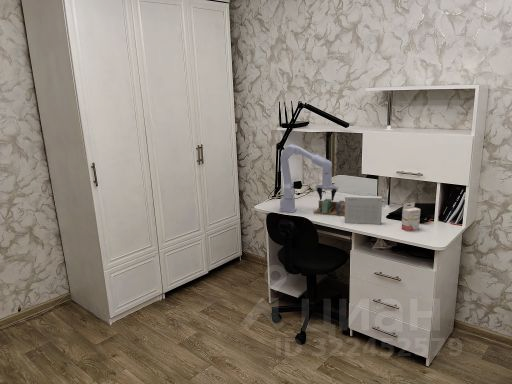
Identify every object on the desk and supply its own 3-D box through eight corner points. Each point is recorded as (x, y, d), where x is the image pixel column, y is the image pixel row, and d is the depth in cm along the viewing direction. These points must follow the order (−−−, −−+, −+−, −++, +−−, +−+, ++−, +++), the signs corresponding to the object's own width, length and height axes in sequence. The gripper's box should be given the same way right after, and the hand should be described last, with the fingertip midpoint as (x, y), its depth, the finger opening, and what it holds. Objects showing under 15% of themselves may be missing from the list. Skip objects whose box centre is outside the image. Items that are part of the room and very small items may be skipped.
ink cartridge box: (407, 231, 220) (409, 205, 217) (401, 228, 225) (402, 203, 221) (419, 229, 223) (421, 203, 220) (413, 226, 228) (414, 201, 225)
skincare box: (381, 222, 238) (382, 196, 235) (381, 224, 233) (382, 198, 230) (344, 220, 244) (345, 194, 240) (344, 222, 239) (344, 197, 235)
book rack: (313, 213, 260) (313, 202, 258) (319, 208, 270) (319, 198, 268) (344, 216, 251) (344, 204, 249) (348, 211, 261) (348, 200, 259)
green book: (321, 212, 258) (321, 201, 256) (325, 208, 266) (326, 198, 264) (327, 212, 256) (327, 202, 255) (331, 209, 264) (331, 199, 262)
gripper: (314, 179, 256) (313, 200, 259) (336, 181, 250) (335, 202, 253) (317, 177, 262) (317, 197, 265) (339, 179, 256) (338, 199, 259)
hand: (326, 200), depth 259 cm, fingers open, 7 cm apart
